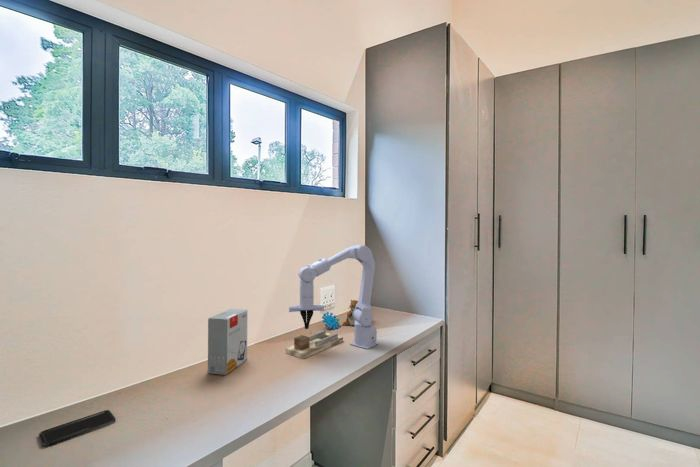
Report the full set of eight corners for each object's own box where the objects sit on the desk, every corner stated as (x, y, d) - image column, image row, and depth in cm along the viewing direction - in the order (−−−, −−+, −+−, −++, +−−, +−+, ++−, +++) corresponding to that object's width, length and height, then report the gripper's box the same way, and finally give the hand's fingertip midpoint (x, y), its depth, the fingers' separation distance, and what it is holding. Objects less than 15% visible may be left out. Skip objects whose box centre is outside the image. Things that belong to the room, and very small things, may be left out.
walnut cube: (309, 347, 145) (309, 337, 145) (301, 350, 142) (301, 339, 142) (301, 345, 148) (301, 334, 148) (294, 348, 144) (294, 337, 144)
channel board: (343, 341, 159) (343, 332, 158) (302, 358, 138) (302, 348, 138) (326, 337, 165) (326, 328, 165) (285, 353, 144) (285, 343, 144)
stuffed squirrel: (341, 326, 182) (341, 300, 182) (354, 319, 195) (354, 296, 194) (358, 329, 178) (358, 303, 177) (370, 322, 190) (370, 297, 189)
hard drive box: (226, 376, 123) (226, 319, 122) (207, 374, 124) (206, 318, 124) (248, 359, 138) (247, 308, 137) (230, 357, 140) (230, 307, 139)
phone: (38, 432, 88) (108, 409, 100) (38, 436, 88) (108, 412, 100) (42, 446, 83) (116, 419, 94) (43, 450, 83) (116, 423, 94)
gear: (327, 328, 172) (320, 311, 178) (321, 335, 175) (314, 318, 181) (344, 327, 179) (337, 310, 185) (338, 333, 182) (331, 317, 188)
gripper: (322, 293, 152) (322, 324, 152) (288, 294, 149) (288, 326, 149) (324, 296, 145) (324, 329, 145) (289, 298, 142) (289, 331, 143)
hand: (306, 328), depth 147 cm, fingers closed
